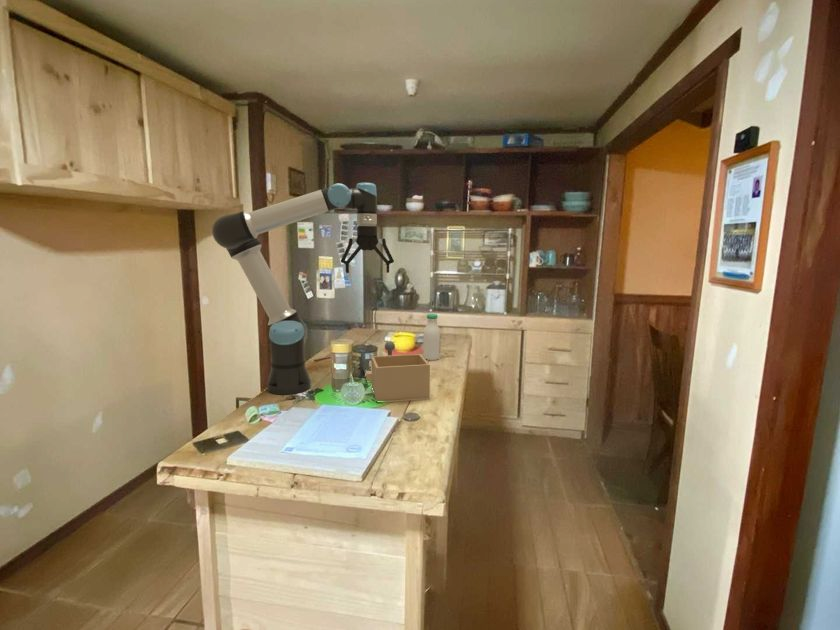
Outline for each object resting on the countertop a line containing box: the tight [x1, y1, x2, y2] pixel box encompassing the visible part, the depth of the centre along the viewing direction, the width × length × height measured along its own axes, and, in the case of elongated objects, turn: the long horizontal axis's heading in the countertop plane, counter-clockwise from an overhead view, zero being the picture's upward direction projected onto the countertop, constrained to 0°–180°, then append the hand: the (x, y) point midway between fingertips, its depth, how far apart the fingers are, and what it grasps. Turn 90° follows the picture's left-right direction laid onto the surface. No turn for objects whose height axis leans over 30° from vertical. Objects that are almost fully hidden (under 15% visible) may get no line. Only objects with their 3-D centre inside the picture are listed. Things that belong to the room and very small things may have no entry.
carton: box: [370, 353, 431, 403], centre depth 154 cm, size 18×14×12 cm
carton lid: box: [365, 340, 396, 381], centre depth 175 cm, size 20×16×14 cm
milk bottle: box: [422, 313, 441, 361], centre depth 198 cm, size 8×8×20 cm
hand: (367, 281), depth 172 cm, fingers open, 13 cm apart
